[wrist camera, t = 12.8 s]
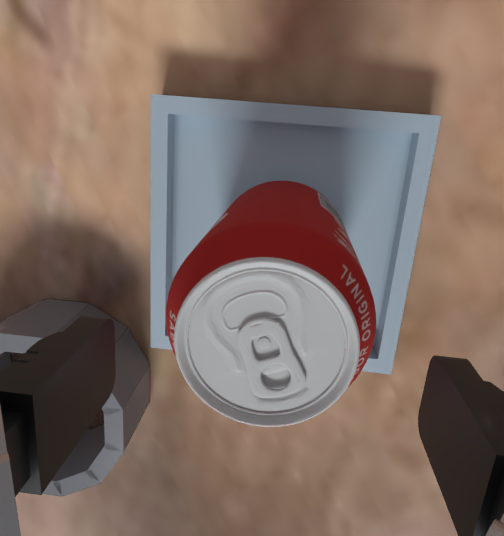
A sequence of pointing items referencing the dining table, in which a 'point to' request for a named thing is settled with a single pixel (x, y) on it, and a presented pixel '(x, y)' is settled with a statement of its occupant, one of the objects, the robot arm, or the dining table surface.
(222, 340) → the beverage can
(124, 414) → the sleeve
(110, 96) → the dining table surface
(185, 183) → the tray
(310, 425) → the dining table surface
